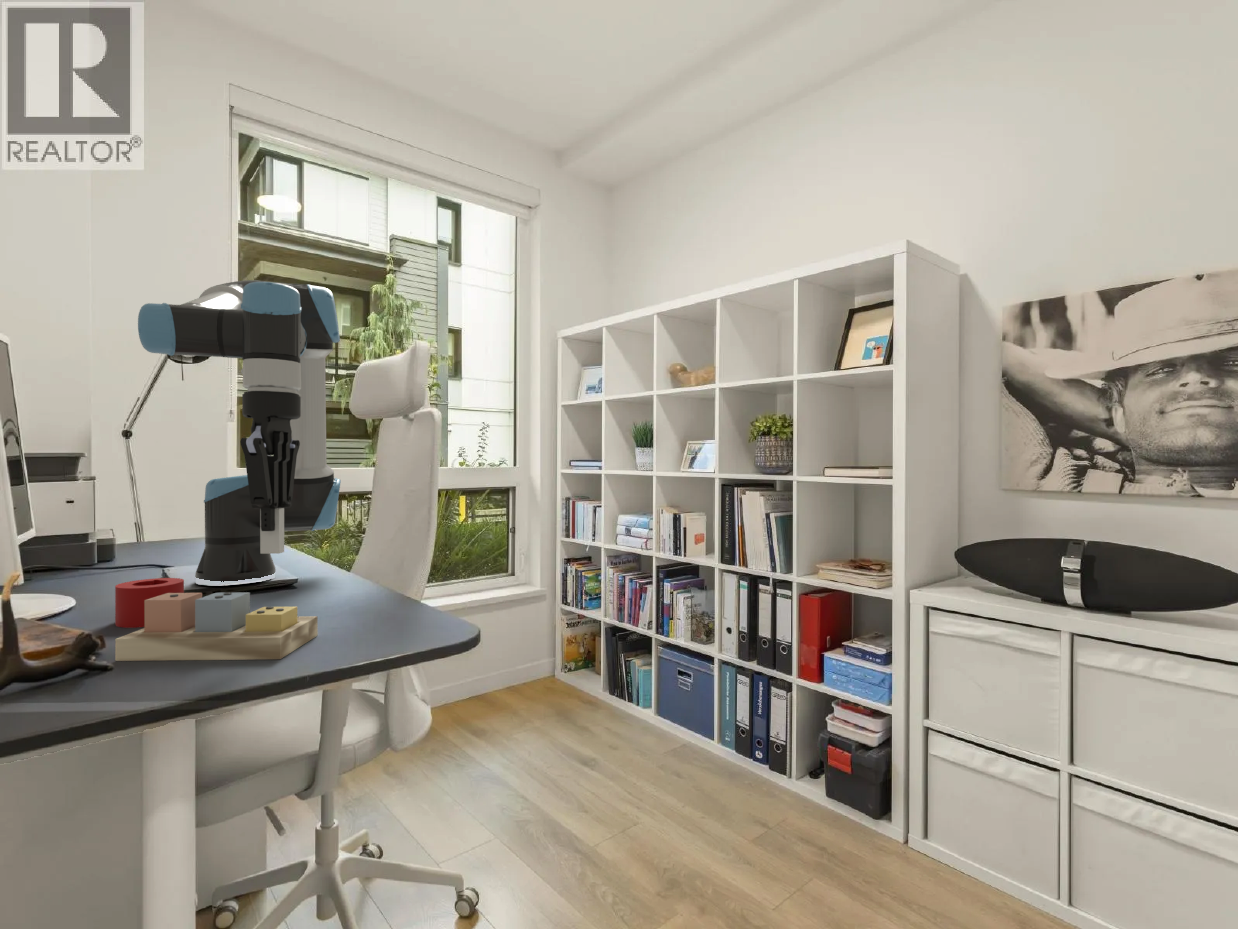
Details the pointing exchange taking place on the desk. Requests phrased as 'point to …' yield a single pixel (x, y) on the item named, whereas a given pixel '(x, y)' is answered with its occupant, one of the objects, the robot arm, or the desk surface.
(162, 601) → the tile one
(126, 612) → the red oval ring
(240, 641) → the button board
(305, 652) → the desk surface
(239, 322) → the robot arm
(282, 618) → the tile three
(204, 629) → the tile two
